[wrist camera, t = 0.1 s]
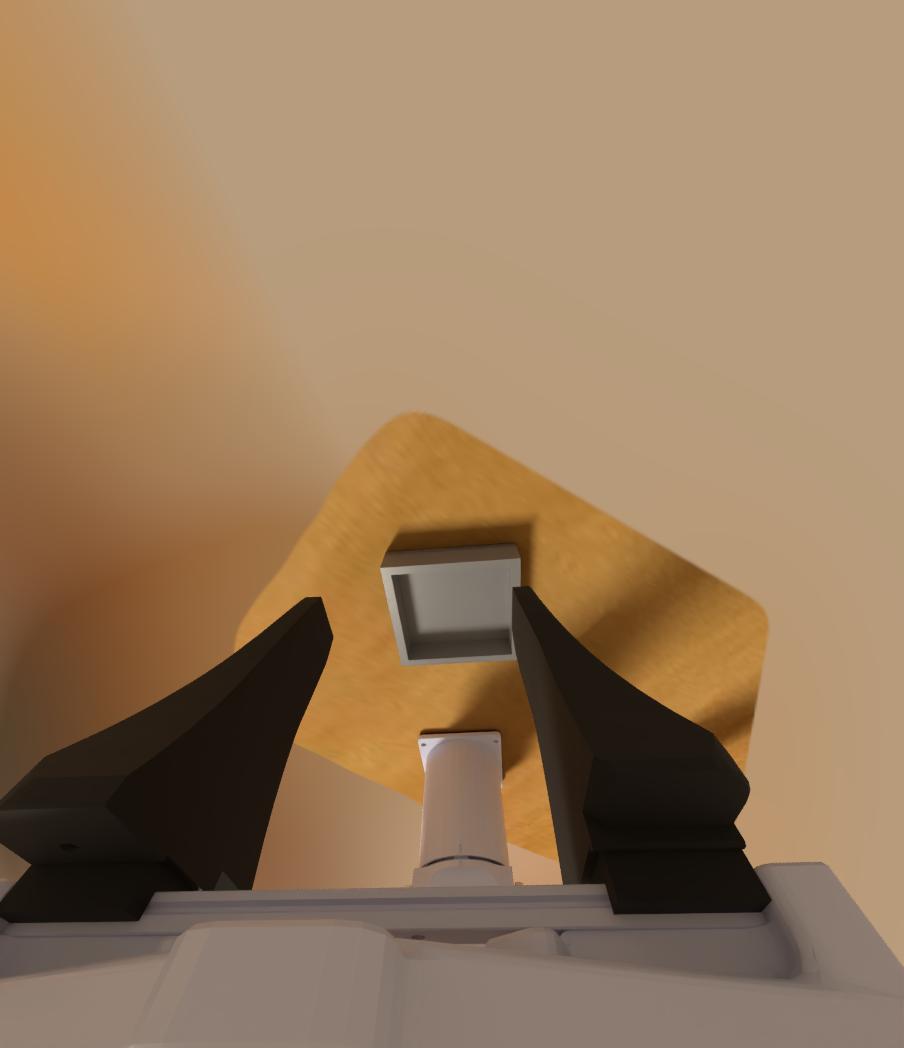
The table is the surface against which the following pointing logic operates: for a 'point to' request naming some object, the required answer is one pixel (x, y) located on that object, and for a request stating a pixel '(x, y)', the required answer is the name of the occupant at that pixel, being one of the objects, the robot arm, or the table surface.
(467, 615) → the tray
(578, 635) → the table surface
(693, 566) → the table surface
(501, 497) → the table surface
